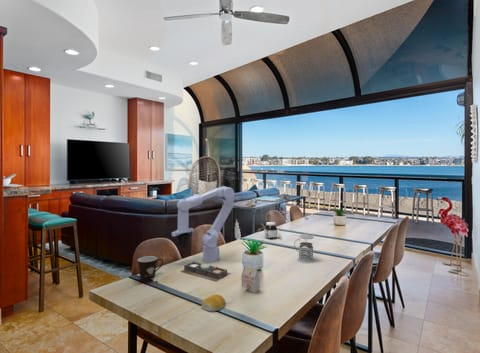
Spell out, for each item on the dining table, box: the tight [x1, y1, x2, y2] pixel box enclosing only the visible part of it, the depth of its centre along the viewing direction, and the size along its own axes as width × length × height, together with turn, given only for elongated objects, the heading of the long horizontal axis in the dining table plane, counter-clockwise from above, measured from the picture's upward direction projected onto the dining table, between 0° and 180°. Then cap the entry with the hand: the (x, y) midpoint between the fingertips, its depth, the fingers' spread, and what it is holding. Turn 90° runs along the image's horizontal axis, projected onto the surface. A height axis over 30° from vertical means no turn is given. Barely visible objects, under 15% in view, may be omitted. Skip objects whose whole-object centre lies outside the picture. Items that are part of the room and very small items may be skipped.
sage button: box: [201, 263, 211, 270], centre depth 143 cm, size 4×4×2 cm
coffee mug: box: [137, 255, 164, 283], centre depth 138 cm, size 12×9×10 cm
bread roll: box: [201, 294, 226, 312], centre depth 112 cm, size 8×9×4 cm
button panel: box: [179, 261, 232, 283], centre depth 143 cm, size 12×23×4 cm, turn 57°
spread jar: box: [263, 221, 282, 240], centre depth 218 cm, size 12×11×12 cm
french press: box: [293, 216, 315, 264], centre depth 165 cm, size 10×12×25 cm
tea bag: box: [241, 265, 260, 294], centre depth 126 cm, size 4×7×10 cm, turn 51°
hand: (182, 247), depth 156 cm, fingers closed
